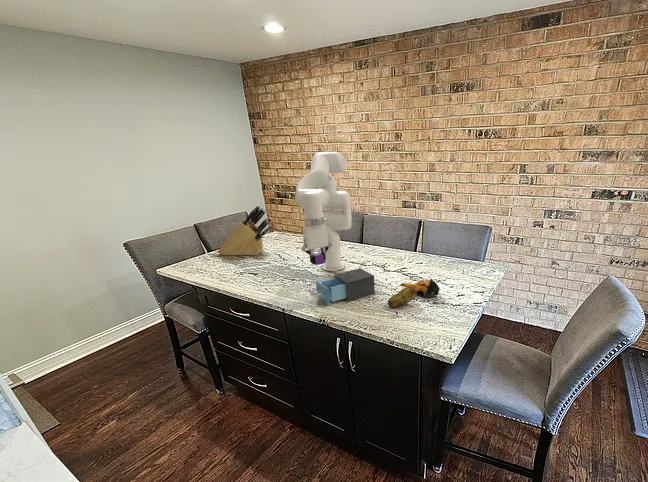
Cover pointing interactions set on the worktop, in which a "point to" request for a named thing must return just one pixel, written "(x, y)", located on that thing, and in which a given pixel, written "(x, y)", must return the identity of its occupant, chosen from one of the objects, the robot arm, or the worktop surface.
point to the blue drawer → (330, 290)
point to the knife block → (247, 236)
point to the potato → (402, 297)
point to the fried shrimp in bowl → (424, 288)
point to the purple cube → (319, 258)
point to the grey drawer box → (357, 283)
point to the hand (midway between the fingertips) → (318, 262)
